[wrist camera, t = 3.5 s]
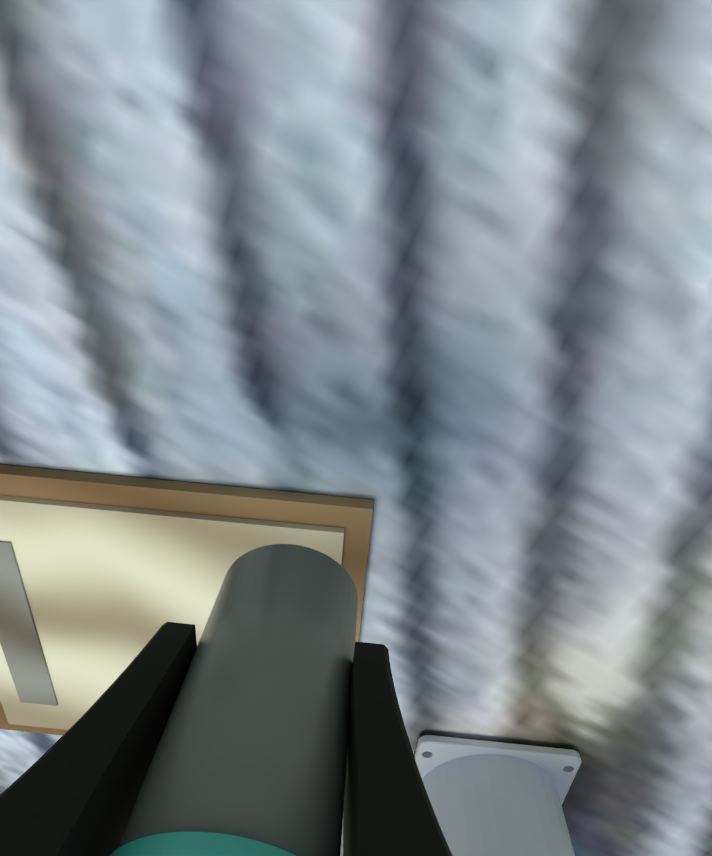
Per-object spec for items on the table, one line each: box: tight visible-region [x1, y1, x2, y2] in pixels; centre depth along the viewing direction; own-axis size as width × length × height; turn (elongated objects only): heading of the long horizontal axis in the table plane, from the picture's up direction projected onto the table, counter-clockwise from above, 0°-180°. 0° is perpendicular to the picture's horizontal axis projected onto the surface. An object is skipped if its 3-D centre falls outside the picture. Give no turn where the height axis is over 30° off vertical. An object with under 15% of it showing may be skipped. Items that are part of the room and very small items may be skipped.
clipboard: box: [0, 464, 374, 735], centre depth 23 cm, size 16×20×1 cm
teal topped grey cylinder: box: [109, 544, 358, 856], centre depth 10 cm, size 4×4×7 cm
